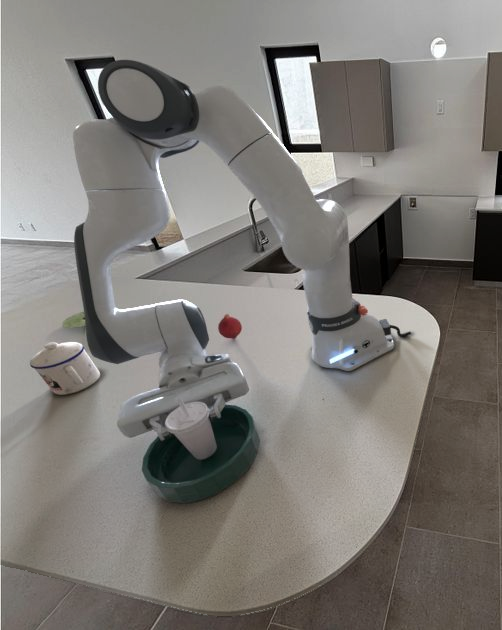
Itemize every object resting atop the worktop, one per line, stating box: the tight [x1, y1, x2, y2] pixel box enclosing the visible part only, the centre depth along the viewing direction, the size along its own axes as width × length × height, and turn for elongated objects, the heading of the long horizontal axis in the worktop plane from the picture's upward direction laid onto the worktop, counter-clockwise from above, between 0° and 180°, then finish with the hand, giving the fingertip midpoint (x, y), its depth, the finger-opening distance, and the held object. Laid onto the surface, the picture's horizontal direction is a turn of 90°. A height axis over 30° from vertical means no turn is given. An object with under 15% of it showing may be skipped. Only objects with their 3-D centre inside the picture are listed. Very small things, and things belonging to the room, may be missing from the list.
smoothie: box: [165, 397, 217, 460], centre depth 58 cm, size 6×6×14 cm
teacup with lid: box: [29, 341, 101, 396], centre depth 77 cm, size 12×9×12 cm
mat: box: [61, 311, 85, 329], centre depth 103 cm, size 11×11×2 cm
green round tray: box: [141, 404, 261, 504], centre depth 62 cm, size 18×18×5 cm
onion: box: [217, 313, 243, 340], centre depth 94 cm, size 6×6×8 cm
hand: (191, 426), depth 57 cm, fingers closed on smoothie, 6 cm apart
